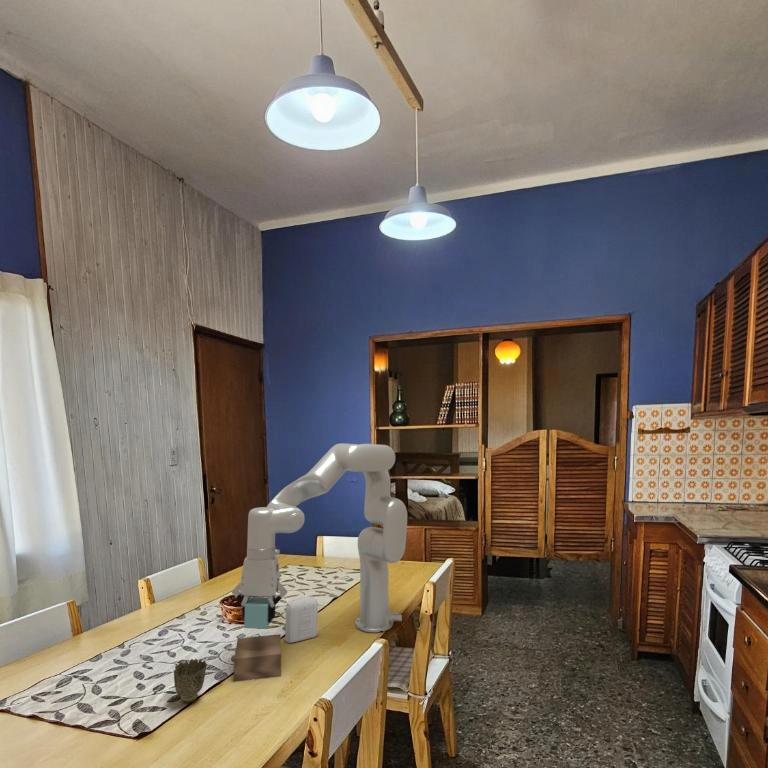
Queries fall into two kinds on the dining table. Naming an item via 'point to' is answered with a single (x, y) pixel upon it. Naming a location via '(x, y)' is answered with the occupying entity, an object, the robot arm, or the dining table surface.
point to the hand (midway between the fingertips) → (258, 619)
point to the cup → (189, 679)
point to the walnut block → (257, 657)
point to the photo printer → (301, 619)
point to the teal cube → (256, 613)
